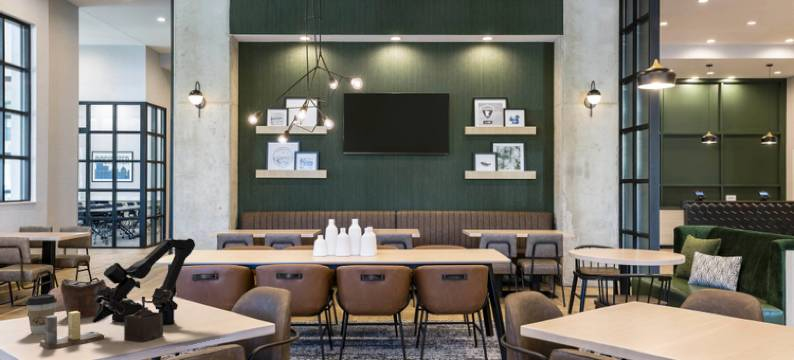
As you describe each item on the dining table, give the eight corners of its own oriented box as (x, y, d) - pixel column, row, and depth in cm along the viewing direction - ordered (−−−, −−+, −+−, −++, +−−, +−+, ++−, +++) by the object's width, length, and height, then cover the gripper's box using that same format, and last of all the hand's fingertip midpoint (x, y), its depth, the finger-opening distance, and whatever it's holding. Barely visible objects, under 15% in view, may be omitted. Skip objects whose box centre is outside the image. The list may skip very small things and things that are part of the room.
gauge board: (94, 334, 229) (94, 306, 229) (104, 339, 221) (104, 309, 222) (40, 344, 214) (39, 314, 215) (48, 349, 207) (48, 318, 207)
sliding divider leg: (73, 335, 222) (73, 309, 222) (80, 338, 216) (80, 312, 217) (65, 336, 219) (65, 311, 220) (71, 339, 214) (71, 313, 214)
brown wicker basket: (114, 312, 270) (114, 275, 270) (72, 321, 253) (71, 282, 254) (94, 309, 280) (93, 274, 280) (52, 318, 263) (51, 279, 263)
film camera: (155, 317, 261) (155, 295, 261) (145, 323, 248) (145, 300, 248) (116, 318, 260) (116, 296, 260) (104, 324, 247) (104, 301, 247)
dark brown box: (144, 342, 215) (143, 296, 215) (123, 340, 219) (123, 294, 220) (174, 333, 229) (174, 289, 230) (154, 330, 234) (154, 287, 234)
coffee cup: (23, 337, 226) (23, 300, 227) (27, 331, 237) (27, 295, 237) (56, 333, 232) (56, 297, 232) (58, 327, 242) (58, 293, 242)
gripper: (98, 276, 232) (69, 307, 224) (116, 280, 220) (85, 313, 211) (118, 292, 238) (91, 323, 230) (136, 297, 225) (108, 330, 217)
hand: (93, 322), depth 222 cm, fingers closed
